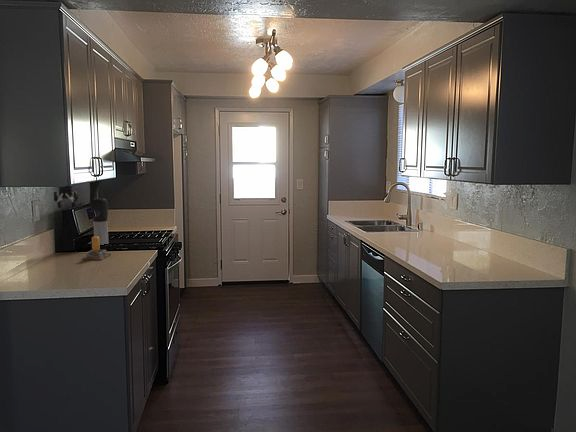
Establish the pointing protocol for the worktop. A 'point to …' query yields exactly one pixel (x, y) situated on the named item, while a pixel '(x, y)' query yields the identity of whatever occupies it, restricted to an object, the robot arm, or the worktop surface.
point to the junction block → (96, 255)
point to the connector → (95, 244)
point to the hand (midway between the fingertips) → (66, 207)
